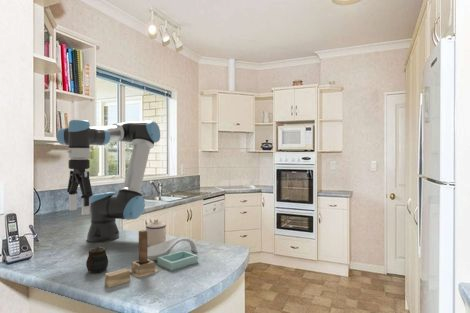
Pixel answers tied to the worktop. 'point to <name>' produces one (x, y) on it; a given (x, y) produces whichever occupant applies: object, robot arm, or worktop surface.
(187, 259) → the tray
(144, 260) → the dowel
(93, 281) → the worktop surface
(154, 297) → the worktop surface
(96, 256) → the mate gourd
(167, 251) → the spoon rest
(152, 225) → the beige lidded jar
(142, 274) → the socket block
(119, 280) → the block
